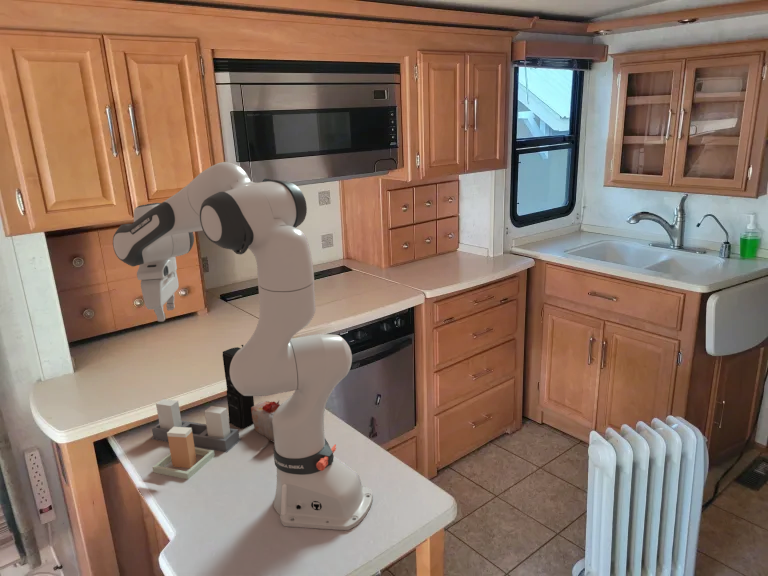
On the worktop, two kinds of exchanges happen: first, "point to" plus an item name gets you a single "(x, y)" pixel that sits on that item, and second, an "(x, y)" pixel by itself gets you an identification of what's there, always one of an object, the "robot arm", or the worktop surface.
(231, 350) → the portable radio
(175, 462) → the block
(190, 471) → the tray
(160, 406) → the fuse block
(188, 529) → the worktop surface
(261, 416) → the food item
